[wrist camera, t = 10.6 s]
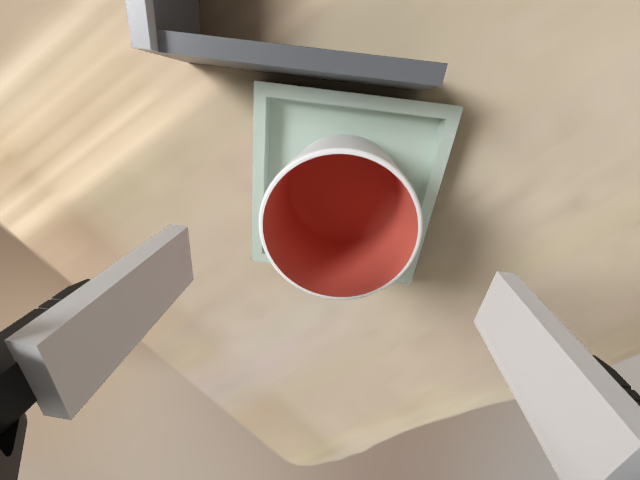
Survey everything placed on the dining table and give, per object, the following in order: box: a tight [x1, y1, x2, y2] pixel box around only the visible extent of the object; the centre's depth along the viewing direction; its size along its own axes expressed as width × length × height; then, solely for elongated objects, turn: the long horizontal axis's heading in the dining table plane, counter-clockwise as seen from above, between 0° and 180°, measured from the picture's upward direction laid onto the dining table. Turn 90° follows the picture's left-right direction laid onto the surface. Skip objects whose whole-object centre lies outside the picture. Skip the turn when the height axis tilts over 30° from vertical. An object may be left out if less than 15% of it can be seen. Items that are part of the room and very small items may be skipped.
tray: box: [252, 81, 464, 284], centre depth 26 cm, size 16×16×2 cm
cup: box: [259, 134, 423, 300], centre depth 22 cm, size 10×10×10 cm
